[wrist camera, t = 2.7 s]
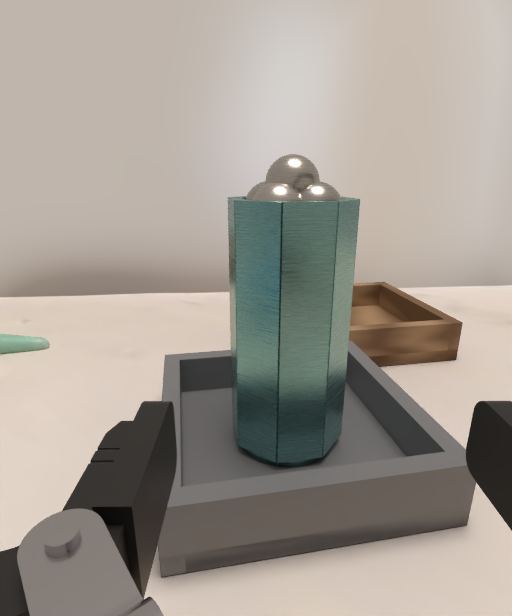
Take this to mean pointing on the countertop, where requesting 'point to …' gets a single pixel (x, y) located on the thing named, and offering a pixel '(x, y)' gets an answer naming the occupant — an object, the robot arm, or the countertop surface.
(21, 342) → the mint green cone
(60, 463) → the countertop surface
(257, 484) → the charcoal bin
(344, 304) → the teal octagonal tall prism
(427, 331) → the walnut tray
